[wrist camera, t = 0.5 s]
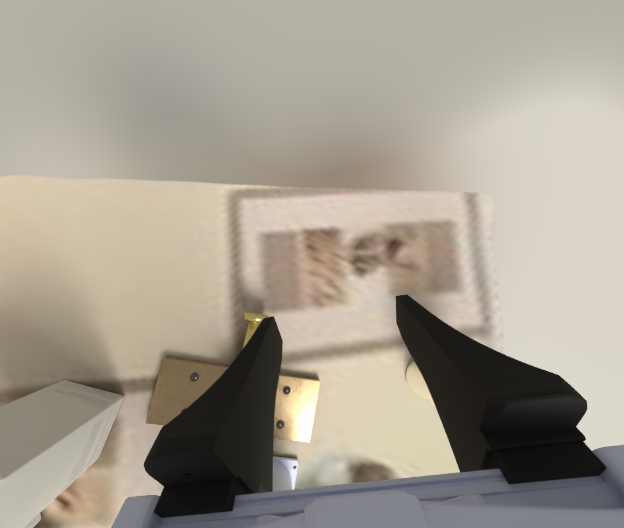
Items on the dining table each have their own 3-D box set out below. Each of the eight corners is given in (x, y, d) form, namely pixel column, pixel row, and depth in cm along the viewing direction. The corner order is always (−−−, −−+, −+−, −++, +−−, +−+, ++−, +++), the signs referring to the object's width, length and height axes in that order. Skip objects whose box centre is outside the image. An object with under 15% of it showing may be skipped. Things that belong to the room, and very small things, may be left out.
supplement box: (63, 377, 32) (-118, 450, 18) (127, 394, 33) (4, 478, 18) (31, 444, 31) (-195, 584, 16) (98, 460, 32) (-58, 608, 17)
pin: (254, 380, 36) (251, 390, 32) (231, 377, 35) (226, 387, 32) (268, 314, 37) (267, 317, 34) (246, 310, 37) (243, 312, 33)
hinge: (307, 442, 36) (311, 460, 32) (148, 423, 33) (130, 441, 29) (318, 378, 37) (323, 389, 33) (166, 356, 34) (151, 364, 31)
